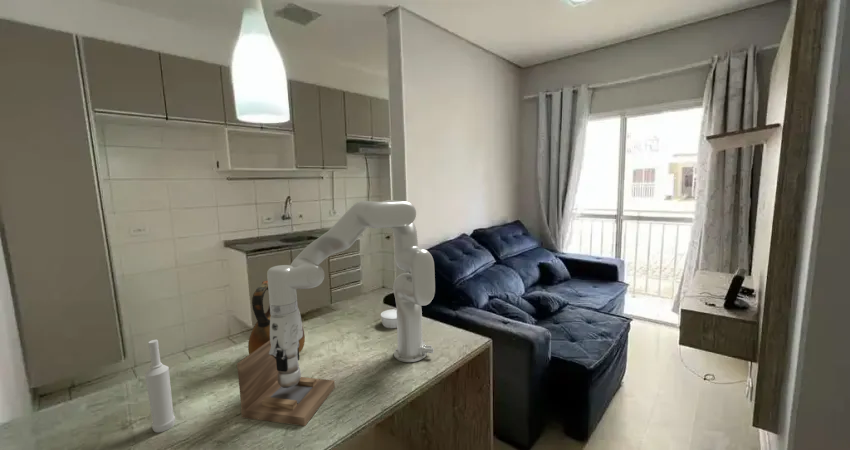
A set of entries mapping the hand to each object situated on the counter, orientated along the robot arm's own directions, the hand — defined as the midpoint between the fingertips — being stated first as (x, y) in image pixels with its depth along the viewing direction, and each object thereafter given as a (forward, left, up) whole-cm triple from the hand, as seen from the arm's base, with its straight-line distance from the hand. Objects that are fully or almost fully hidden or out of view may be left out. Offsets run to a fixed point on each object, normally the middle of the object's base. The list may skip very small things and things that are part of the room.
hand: (288, 364), depth 104 cm
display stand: (0, 0, -12) cm, 12 cm away
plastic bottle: (0, 0, -7) cm, 7 cm away
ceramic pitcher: (+21, -24, -12) cm, 34 cm away
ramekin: (-14, -60, -12) cm, 63 cm away
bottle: (+29, +16, -12) cm, 35 cm away
